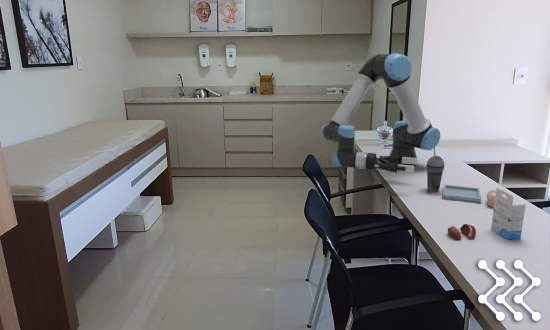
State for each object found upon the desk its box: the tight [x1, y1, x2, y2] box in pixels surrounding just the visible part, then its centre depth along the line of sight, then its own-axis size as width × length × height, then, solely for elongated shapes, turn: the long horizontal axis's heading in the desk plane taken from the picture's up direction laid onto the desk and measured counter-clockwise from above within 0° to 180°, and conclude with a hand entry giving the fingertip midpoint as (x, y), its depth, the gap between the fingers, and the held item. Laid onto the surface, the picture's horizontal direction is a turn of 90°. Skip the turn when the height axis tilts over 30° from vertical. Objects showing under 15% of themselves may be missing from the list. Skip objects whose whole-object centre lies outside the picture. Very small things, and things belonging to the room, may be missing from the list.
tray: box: [442, 184, 482, 204], centre depth 163 cm, size 14×14×2 cm
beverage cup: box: [426, 146, 445, 194], centre depth 167 cm, size 7×7×20 cm
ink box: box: [490, 187, 527, 240], centre depth 126 cm, size 9×5×15 cm, turn 5°
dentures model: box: [447, 223, 477, 241], centre depth 127 cm, size 6×4×8 cm
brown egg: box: [486, 189, 496, 209], centre depth 152 cm, size 7×5×5 cm
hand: (415, 165), depth 169 cm, fingers open, 13 cm apart
